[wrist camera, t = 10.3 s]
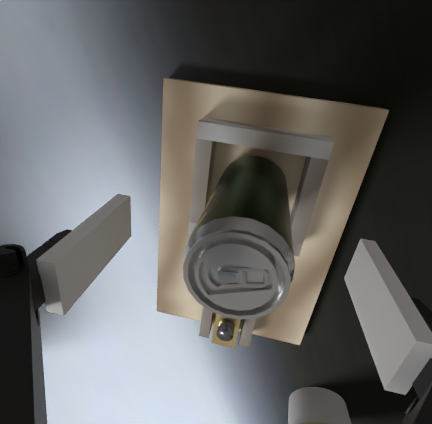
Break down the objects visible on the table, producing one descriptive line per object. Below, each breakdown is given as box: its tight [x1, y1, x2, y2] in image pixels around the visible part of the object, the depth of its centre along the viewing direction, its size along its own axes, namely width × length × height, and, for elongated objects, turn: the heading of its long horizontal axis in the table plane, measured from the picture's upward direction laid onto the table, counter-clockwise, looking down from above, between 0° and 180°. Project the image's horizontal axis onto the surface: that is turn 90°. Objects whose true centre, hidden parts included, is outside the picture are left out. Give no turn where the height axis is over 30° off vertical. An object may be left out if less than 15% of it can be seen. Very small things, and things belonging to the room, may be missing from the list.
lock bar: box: [212, 314, 241, 348], centre depth 28 cm, size 2×8×3 cm, turn 173°
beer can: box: [183, 156, 295, 319], centre depth 18 cm, size 5×5×12 cm
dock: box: [157, 78, 389, 348], centre depth 25 cm, size 16×24×3 cm, turn 173°
